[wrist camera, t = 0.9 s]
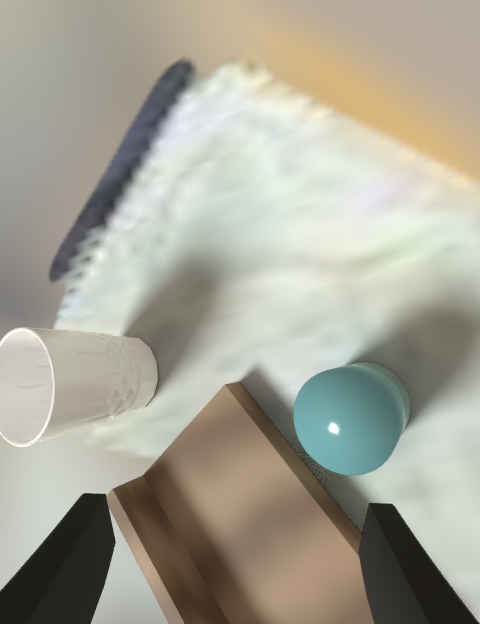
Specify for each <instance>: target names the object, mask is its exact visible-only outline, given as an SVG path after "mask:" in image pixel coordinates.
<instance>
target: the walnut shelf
mask: <svg viewBox="0 0 480 624" xmlns="http://www.w3.org/2000/svg"><path fill="white" fill-rule="evenodd" d="M106 498H107V502H108V507H109V509H110V510H111V512H112V514H113V516H114V518H115V520H116V522H117V524H118V526H119V528H120V530H121V532H122V534H123V536H124V538H125V540H126V542H127V543H128V545H129V547H130V549H131V551H132V553H133V555H134V557H135V559H136V561H137V563H138V565H139V567H140V568H141V570H142V572H143V574H144V576H145V578H146V580H147V582H148V584H149V586H150V588H151V589H152V592H153V593H154V595H155V597H156V599H157V601H158V603H159V605H160V607H161V609H162V611H163V613H164V615H165V617H166V619H167V621H168V622H169V624H374V621H373V617H372V614H371V610H370V607H369V603H368V599H367V596H366V591H365V586H364V581H363V576H362V570H361V565H360V559H359V554H358V549H359V545H360V541H361V536H362V534H361V533H360V532H359V530H358V529H357V528H356V527H355V525H354V524H353V523H352V522H351V520H350V519H349V518H348V517H347V515H346V514H345V513H344V512H343V510H342V509H341V508H340V507H339V506H338V504H337V503H336V502H335V501H334V499H333V498H332V497H331V496H330V494H329V493H328V492H327V491H326V489H325V488H324V487H323V486H322V484H321V483H320V482H319V481H318V479H317V478H316V477H315V476H314V474H313V473H312V472H311V471H310V469H309V468H308V467H307V466H306V464H305V463H304V462H303V461H302V459H301V458H300V457H299V456H298V454H297V453H296V452H295V451H294V449H293V448H292V447H291V446H290V444H289V443H288V442H287V441H286V439H285V438H284V437H283V436H282V434H281V433H280V432H279V431H278V429H277V428H276V427H275V426H274V424H273V423H272V422H271V421H270V420H269V418H268V417H267V416H266V415H265V413H264V412H263V411H262V410H261V408H260V407H259V406H258V405H257V403H256V402H255V401H254V400H253V398H252V397H251V396H250V395H249V393H248V392H247V391H246V390H245V388H244V387H243V386H242V385H241V383H240V382H235V383H230V384H225V385H224V386H223V387H222V388H221V389H220V391H219V392H218V393H217V394H216V395H215V396H214V397H213V398H212V399H211V401H210V402H209V403H208V404H207V405H206V406H205V407H204V408H203V409H202V411H201V412H200V413H199V414H198V415H197V416H196V417H195V418H194V419H193V420H192V422H191V423H190V424H189V425H188V426H187V427H186V428H185V429H184V430H183V432H182V433H181V434H180V435H179V436H178V437H177V438H176V439H175V440H174V441H173V443H172V444H171V445H170V446H169V447H168V448H167V449H166V450H165V451H164V453H163V454H162V455H161V456H160V457H159V458H158V459H157V460H156V461H155V463H154V464H153V465H152V466H151V467H150V468H149V469H148V470H147V471H146V472H145V474H144V475H143V476H141V477H138V478H136V479H134V480H132V481H129V482H127V483H125V484H123V485H120V486H118V487H116V488H114V489H112V490H111V491H110V492H109V494H108V495H107V496H106Z"/></svg>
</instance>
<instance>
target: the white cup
mask: <svg viewBox="0 0 480 624" xmlns="http://www.w3.org/2000/svg"><path fill="white" fill-rule="evenodd" d="M157 382H158V370H157V361H156V359H155V357H154V355H153V353H152V350H151V348H150V347H149V346H148V345H147V344H146V343H144V342H143V341H142V340H141V339H140V338H134V337H127V336H113V335H111V334H102V333H94V332H82V331H69V330H53V329H39V328H24V327H21V328H16V329H14V330H12V331H10V332H9V333H8V334H6V335H5V336H4V338H3V339H2V340H1V341H0V434H1V435H2V436H3V438H4V439H5V440H7V441H8V442H9V443H10V444H12V445H14V446H18V447H25V446H29V445H33V444H36V443H39V442H42V441H46V440H49V439H52V438H56V437H59V436H62V435H65V434H69V433H72V432H76V431H79V430H83V429H86V428H88V427H91V426H94V425H98V424H101V423H104V422H106V421H110V420H113V419H116V418H117V417H118V416H121V415H125V414H128V413H132V412H134V411H137V410H140V409H142V408H144V407H145V406H146V405H147V404H148V403H149V401H150V400H151V399H152V397H153V396H154V393H155V390H156V386H157Z"/></svg>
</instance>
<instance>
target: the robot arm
mask: <svg viewBox="0 0 480 624" xmlns="http://www.w3.org/2000/svg"><path fill="white" fill-rule="evenodd" d="M114 547H115V537H114V532H113V527H112V522H111V517H110V513H109V507H108V502H107V498H106V494H90V493H84V494H83V495H81V496H80V498H79V499H78V500H77V501H76V502H75V504H74V505H73V506H72V507H71V509H70V510H69V511H68V512H67V514H66V515H65V516H64V517H63V519H62V520H61V521H60V523H59V524H58V525H57V526H56V527H55V529H54V530H53V531H52V532H51V533H50V534H49V536H48V537H47V538H46V539H45V540H44V542H43V543H42V544H41V545H40V546H39V548H38V549H37V550H36V551H35V552H34V553H33V555H32V556H31V557H30V558H29V559H28V560H27V561H26V563H25V564H24V565H23V566H22V567H21V569H20V570H19V571H18V572H17V573H16V574H15V575H14V576H13V578H12V579H11V580H10V581H9V582H8V583H7V584H6V585H5V586H4V588H3V589H2V590H1V591H0V624H91V621H92V618H93V615H94V613H95V610H96V607H97V604H98V602H99V599H100V596H101V593H102V590H103V588H104V585H105V581H106V577H107V573H108V569H109V566H110V562H111V558H112V555H113V551H114ZM358 554H359V559H360V565H361V570H362V576H363V581H364V586H365V591H366V596H367V599H368V603H369V607H370V610H371V614H372V617H373V621H374V624H479V622H478V621H477V620H476V618H475V617H474V616H473V615H472V613H471V612H470V611H469V609H468V608H467V607H466V606H465V604H464V603H463V602H462V600H461V599H460V598H459V596H458V595H457V594H456V592H455V591H454V590H453V588H452V587H451V586H450V584H449V583H448V582H447V580H446V579H445V578H444V576H443V575H442V574H441V572H440V571H439V570H438V568H437V567H436V565H435V564H434V563H433V561H432V560H431V559H430V557H429V556H428V554H427V553H426V551H425V550H424V549H423V547H422V546H421V544H420V543H419V542H418V540H417V539H416V537H415V536H414V534H413V533H412V531H411V530H410V528H409V527H408V526H407V524H406V523H405V521H404V520H403V518H402V517H401V515H400V514H399V512H398V511H397V509H396V508H395V506H394V505H393V504H382V503H369V506H368V510H367V515H366V519H365V523H364V528H363V532H362V536H361V541H360V545H359V549H358Z"/></svg>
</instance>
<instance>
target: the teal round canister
mask: <svg viewBox="0 0 480 624" xmlns="http://www.w3.org/2000/svg"><path fill="white" fill-rule="evenodd" d="M410 411H411V404H410V398H409V394H408V392H407V389H406V387H405V386H404V384H403V382H402V381H401V380H400V379H399V378H398V376H397V375H396V374H394V373H393V372H392V371H390V370H389V369H387V368H386V367H384V366H381V365H379V364H375V363H370V362H359V363H354V364H350V365H346V366H342V367H338V368H335V369H331V370H327V371H324V372H321V373H319V374H317V375H315V376H313V377H312V378H310V379H309V380H308V381H307V382H306V383H305V384H304V385H303V387H302V388H301V390H300V391H299V393H298V395H297V398H296V401H295V405H294V412H293V418H294V426H295V430H296V434H297V436H298V439H299V441H300V443H301V444H302V446H303V448H304V449H305V451H306V452H307V453H308V454H309V455H310V457H311V458H312V459H314V460H315V461H316V462H317V463H318V464H320V465H321V466H323V467H324V468H326V469H328V470H330V471H333V472H335V473H339V474H343V475H362V474H366V473H369V472H372V471H374V470H376V469H377V468H379V467H380V466H382V465H383V464H384V463H385V462H386V461H387V459H388V458H389V457H390V456H391V454H392V452H393V450H394V448H395V446H396V444H397V442H398V440H399V438H400V436H401V434H402V432H403V430H404V429H405V427H406V425H407V423H408V420H409V417H410Z"/></svg>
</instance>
